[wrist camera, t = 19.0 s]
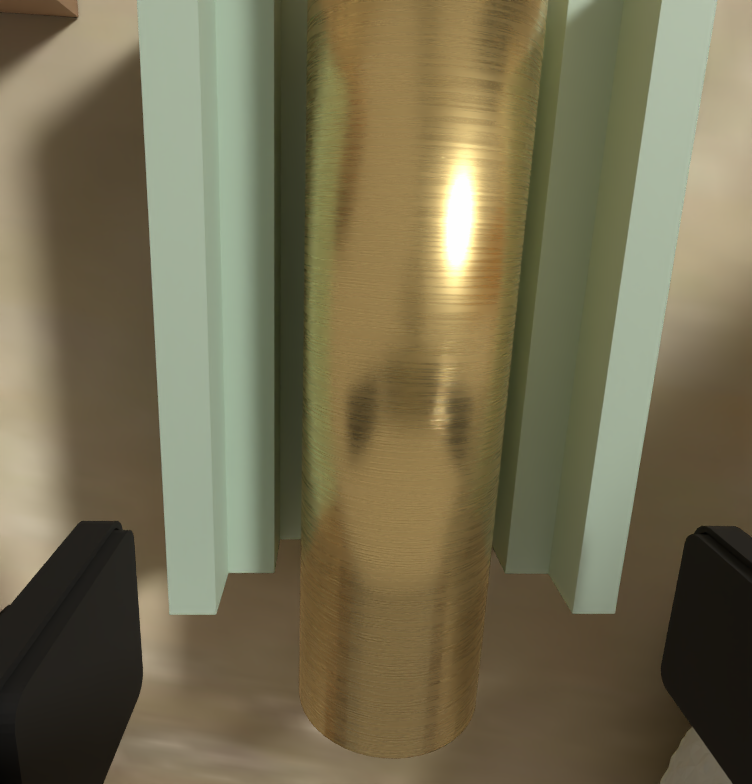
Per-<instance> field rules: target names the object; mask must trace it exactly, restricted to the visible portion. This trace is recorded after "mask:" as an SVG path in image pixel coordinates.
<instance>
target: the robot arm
mask: <svg viewBox="0 0 752 784" xmlns="http://www.w3.org/2000/svg"><path fill="white" fill-rule="evenodd" d="M661 676H662V680H663V683H664V686H665V688H666V690H667V691H668V693H669V694H670V696H671V697H672V698H673V700H674V701H675V703H676V704H677V706H678V707H679V708H680V710H681V711H682V713H683V714H684V715H685V717H686V718H687V720H688V721H689V723H690V724H691V725H692V727H693V728H694V730H695V731H696V733H697V734H698V735H699V737H700V738H701V740H702V741H703V742H704V744H705V745H706V747H707V748H708V750H709V751H710V752H711V754H712V755H713V757H714V758H715V760H716V761H717V762H718V764H719V765H720V767H721V768H722V770H723V771H724V772H725V774H726V775H727V777H728V778H729V779H730V781H731V782H732V784H752V537H750V536H749V535H748V534H746V533H745V532H744V531H742V530H741V529H740V528H738V527H736V526H701V527H699V528H697V530H696V531H695V533H694V534H691V535H690V536H688V538H687V539H686V542H685V545H684V550H683V555H682V561H681V566H680V571H679V576H678V581H677V586H676V591H675V597H674V602H673V607H672V612H671V617H670V622H669V627H668V632H667V638H666V643H665V648H664V653H663V658H662V663H661ZM142 678H143V664H142V650H141V635H140V620H139V605H138V591H137V576H136V561H135V546H134V536H133V533H132V531H131V530H123V529H122V526H121V523H120V522H119V521H81V522H80V523H78V525H77V526H76V527H75V528H74V529H73V531H72V532H71V533H70V534H69V535H68V537H67V538H66V539H65V540H64V541H63V542H62V544H61V545H60V546H59V547H58V548H57V550H56V551H55V552H54V553H53V554H52V556H51V557H50V558H49V559H48V560H47V562H46V563H45V564H44V565H43V566H42V568H41V569H40V570H39V571H38V572H37V574H36V575H35V576H34V577H33V578H32V580H31V581H30V582H29V583H28V584H27V586H26V587H25V588H24V589H23V590H22V592H21V593H20V594H19V595H18V596H17V598H16V599H15V600H14V601H13V602H12V604H11V605H8V606H7V607H6V608H4V609H3V610H2V611H1V612H0V784H103V783H104V780H105V778H106V775H107V773H108V770H109V768H110V766H111V763H112V761H113V758H114V756H115V753H116V751H117V748H118V746H119V743H120V741H121V739H122V736H123V734H124V731H125V729H126V726H127V724H128V721H129V719H130V717H131V714H132V712H133V709H134V707H135V704H136V702H137V699H138V697H139V694H140V690H141V686H142Z"/></svg>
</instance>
